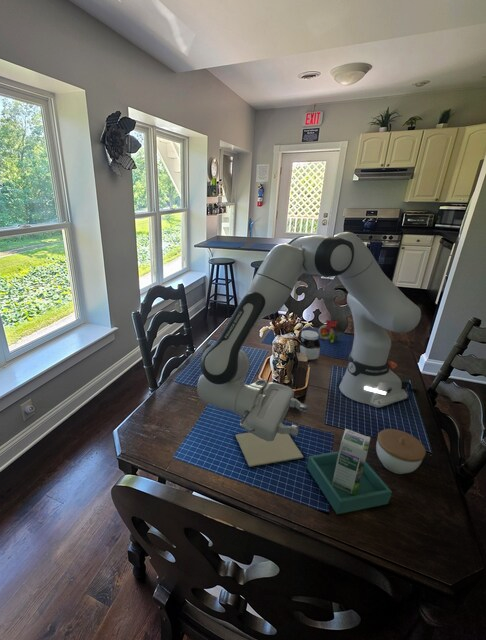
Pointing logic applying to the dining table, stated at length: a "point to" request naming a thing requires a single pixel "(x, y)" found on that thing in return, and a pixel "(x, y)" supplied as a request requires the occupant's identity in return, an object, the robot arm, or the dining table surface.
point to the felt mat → (267, 449)
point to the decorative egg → (205, 348)
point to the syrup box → (350, 461)
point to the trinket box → (399, 451)
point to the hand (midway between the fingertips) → (303, 420)
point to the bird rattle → (325, 331)
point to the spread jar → (310, 344)
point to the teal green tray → (367, 495)
